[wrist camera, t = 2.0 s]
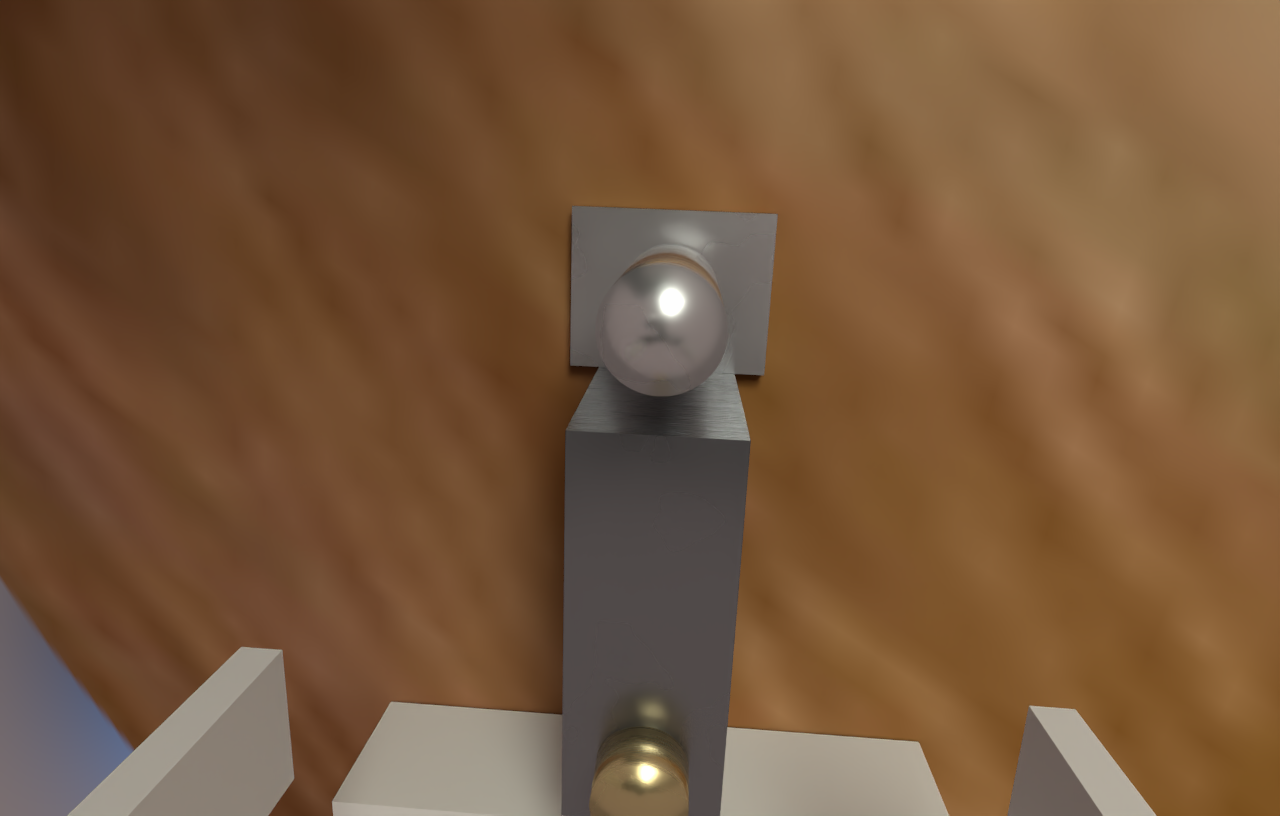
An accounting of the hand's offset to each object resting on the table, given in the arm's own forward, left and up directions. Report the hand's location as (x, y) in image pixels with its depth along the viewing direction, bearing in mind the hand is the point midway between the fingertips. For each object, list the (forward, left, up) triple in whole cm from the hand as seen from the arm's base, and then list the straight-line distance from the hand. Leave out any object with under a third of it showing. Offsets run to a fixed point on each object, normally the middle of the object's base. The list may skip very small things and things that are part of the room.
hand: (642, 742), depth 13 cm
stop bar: (0, 0, -8) cm, 8 cm away
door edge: (+7, 0, -8) cm, 11 cm away
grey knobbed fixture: (-7, 0, -8) cm, 11 cm away
